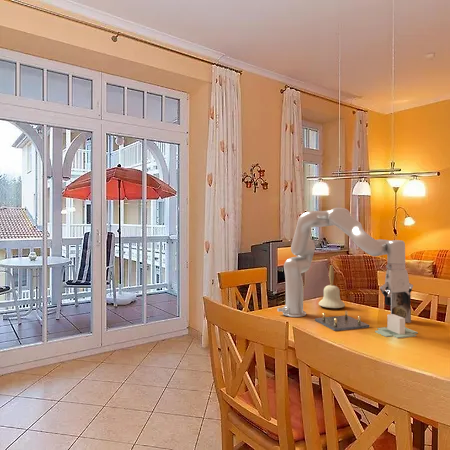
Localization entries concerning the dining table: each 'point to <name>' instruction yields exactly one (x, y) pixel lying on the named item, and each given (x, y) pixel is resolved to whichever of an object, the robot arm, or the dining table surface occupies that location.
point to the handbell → (331, 294)
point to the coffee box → (401, 306)
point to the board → (389, 333)
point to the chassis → (341, 322)
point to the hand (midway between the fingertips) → (396, 304)
